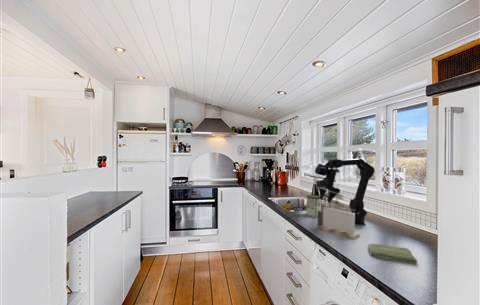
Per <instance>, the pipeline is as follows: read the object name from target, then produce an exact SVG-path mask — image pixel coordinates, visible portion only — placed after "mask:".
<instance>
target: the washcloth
mask: <svg viewBox="0 0 480 305" xmlns="http://www.w3.org/2000/svg"><path fill="white" fill-rule="evenodd" d="M367 248H368V250H369V255H372V256H373V257H374V258H376V259H382V260H387V261H392V262H393V261H394V262H399V263H405V264H409V265H410V264H411V265H416V264H417V263H418V259H416V258H415V256H414V255H413V254H412V252H411V250H410V249H409V248H407V247H403V246H402V247H398V246H393V245H387V244H378V243H369V244H368V247H367Z"/></svg>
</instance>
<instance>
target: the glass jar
mask: <svg viewBox="0 0 480 305" xmlns="http://www.w3.org/2000/svg"><path fill="white" fill-rule="evenodd" d="M320 210H321V211H322V199H320V195H316V194H314V195H313V194H308V195H306V213H305V214H306V216H308V217H313V218H318V211H320Z"/></svg>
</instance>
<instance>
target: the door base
mask: <svg viewBox="0 0 480 305" xmlns="http://www.w3.org/2000/svg"><path fill="white" fill-rule="evenodd" d="M321 213H322V209H321V210H320V211H318V217H317V220H316V221H317V223H316V224H317V225H315V226H314V229H317V230H321V231H324V232H327V233H332V234H334V235H337V236H340V237H343V238H344V237H345V238H347V239H351V240H356V239H357V238H359V237H360V236H361V234H360V233H357V232H354V234H350V233H347V232H343V231H340V230H336V229H333V228H330V227H326V226H323V225H321Z"/></svg>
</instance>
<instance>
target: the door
mask: <svg viewBox="0 0 480 305" xmlns="http://www.w3.org/2000/svg"><path fill="white" fill-rule="evenodd" d="M321 211H322V213H321V225H323V226H326V227H330V228H333V229H336V230H340V231H343V232H347V233H350V234H354V233H355V232H356V230H355V229H356V228H355V226H356V224H355V213H352V212H351V211H345V210H341V209H336V208H330V207H326V206H321Z"/></svg>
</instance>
